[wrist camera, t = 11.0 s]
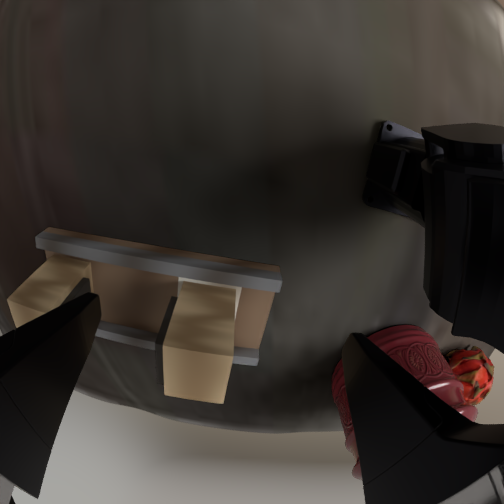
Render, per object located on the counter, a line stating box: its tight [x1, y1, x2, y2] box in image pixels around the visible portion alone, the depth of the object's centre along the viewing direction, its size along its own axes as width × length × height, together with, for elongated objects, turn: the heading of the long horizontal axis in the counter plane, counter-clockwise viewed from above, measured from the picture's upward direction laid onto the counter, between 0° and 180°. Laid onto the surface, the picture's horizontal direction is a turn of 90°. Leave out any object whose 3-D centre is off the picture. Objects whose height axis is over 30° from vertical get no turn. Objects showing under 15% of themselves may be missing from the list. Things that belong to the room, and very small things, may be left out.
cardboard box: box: [155, 281, 236, 404], centre depth 19 cm, size 5×5×7 cm
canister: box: [332, 325, 478, 480], centre depth 20 cm, size 13×13×18 cm
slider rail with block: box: [7, 227, 282, 366], centre depth 19 cm, size 20×9×8 cm, turn 79°
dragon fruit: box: [445, 346, 494, 405], centre depth 26 cm, size 8×8×12 cm
